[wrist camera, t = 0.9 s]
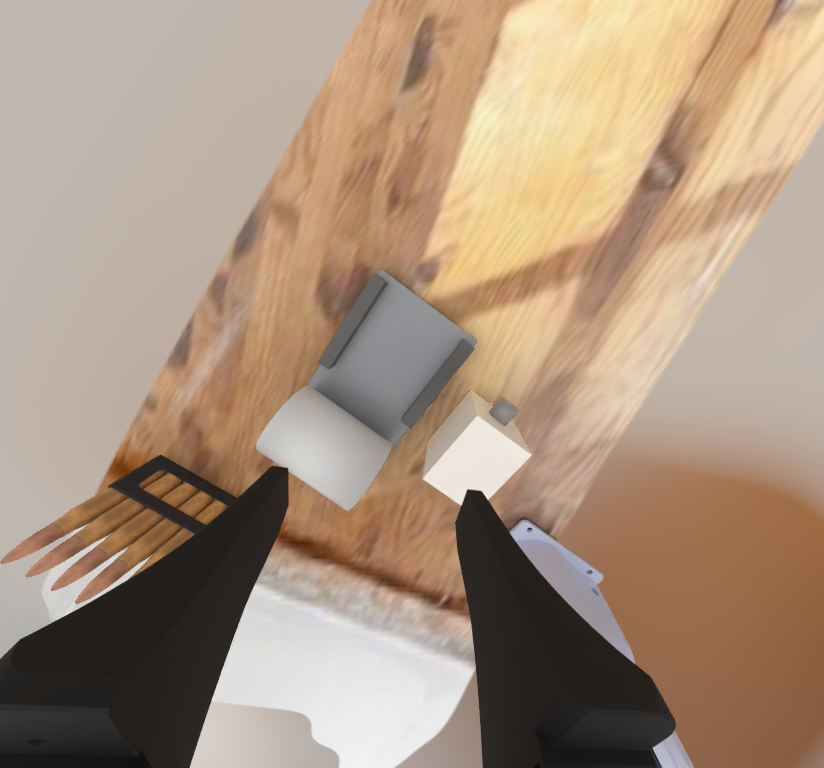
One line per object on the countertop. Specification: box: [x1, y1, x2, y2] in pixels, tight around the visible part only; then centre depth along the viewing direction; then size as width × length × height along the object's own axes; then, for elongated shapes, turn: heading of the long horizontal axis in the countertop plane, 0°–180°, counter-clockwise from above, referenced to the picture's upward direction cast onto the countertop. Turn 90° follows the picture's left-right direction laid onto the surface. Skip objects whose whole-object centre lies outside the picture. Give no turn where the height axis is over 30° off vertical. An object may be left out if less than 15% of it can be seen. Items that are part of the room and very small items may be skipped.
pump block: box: [423, 390, 532, 506], centre depth 23 cm, size 4×7×6 cm, turn 144°
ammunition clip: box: [0, 455, 237, 604], centre depth 26 cm, size 11×2×12 cm, turn 59°
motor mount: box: [256, 269, 477, 511], centre depth 23 cm, size 9×16×7 cm, turn 144°
